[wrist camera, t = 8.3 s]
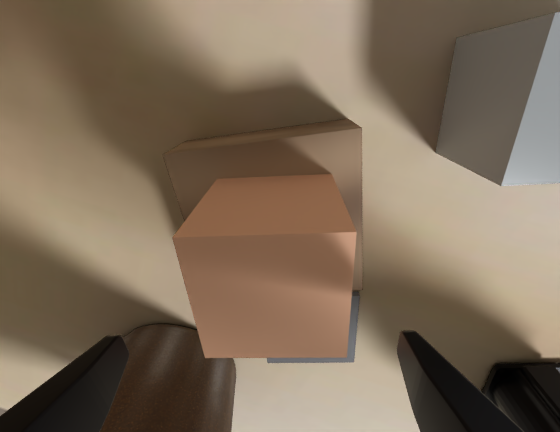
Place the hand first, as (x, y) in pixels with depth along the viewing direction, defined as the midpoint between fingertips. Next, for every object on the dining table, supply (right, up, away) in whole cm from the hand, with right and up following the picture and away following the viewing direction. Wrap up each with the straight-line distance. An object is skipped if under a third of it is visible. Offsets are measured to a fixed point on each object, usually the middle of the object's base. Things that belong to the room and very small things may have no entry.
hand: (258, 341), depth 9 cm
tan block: (+1, +5, +10) cm, 12 cm away
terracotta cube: (+1, +3, +7) cm, 8 cm away
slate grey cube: (+13, +11, +7) cm, 18 cm away
